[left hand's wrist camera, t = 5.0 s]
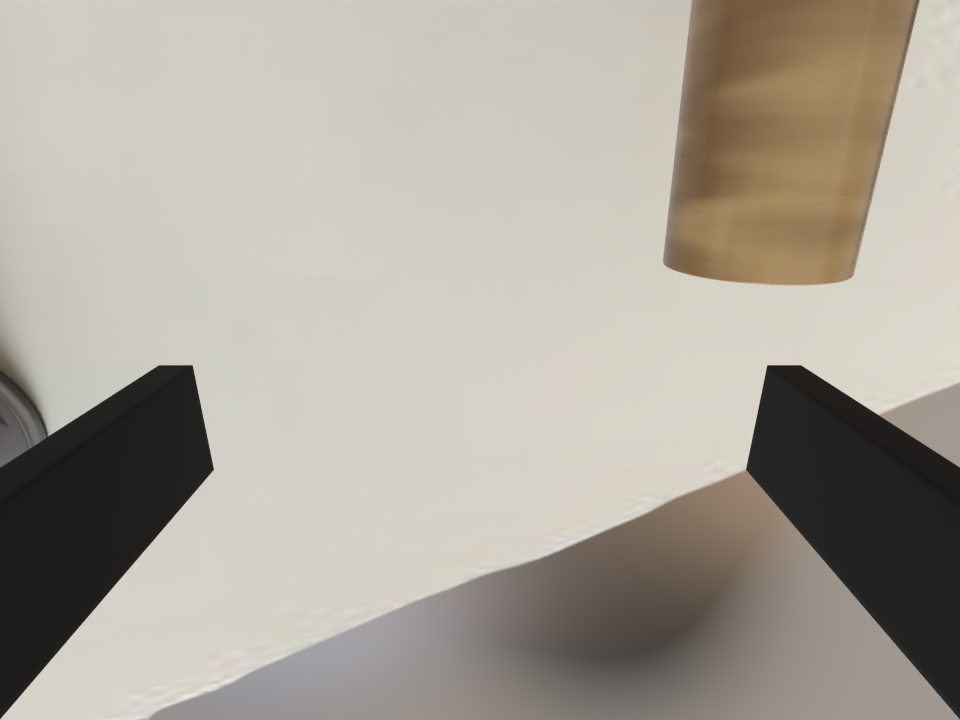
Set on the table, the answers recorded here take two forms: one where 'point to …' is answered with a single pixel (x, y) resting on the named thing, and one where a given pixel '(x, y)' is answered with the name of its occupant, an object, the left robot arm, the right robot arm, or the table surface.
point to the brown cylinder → (782, 136)
